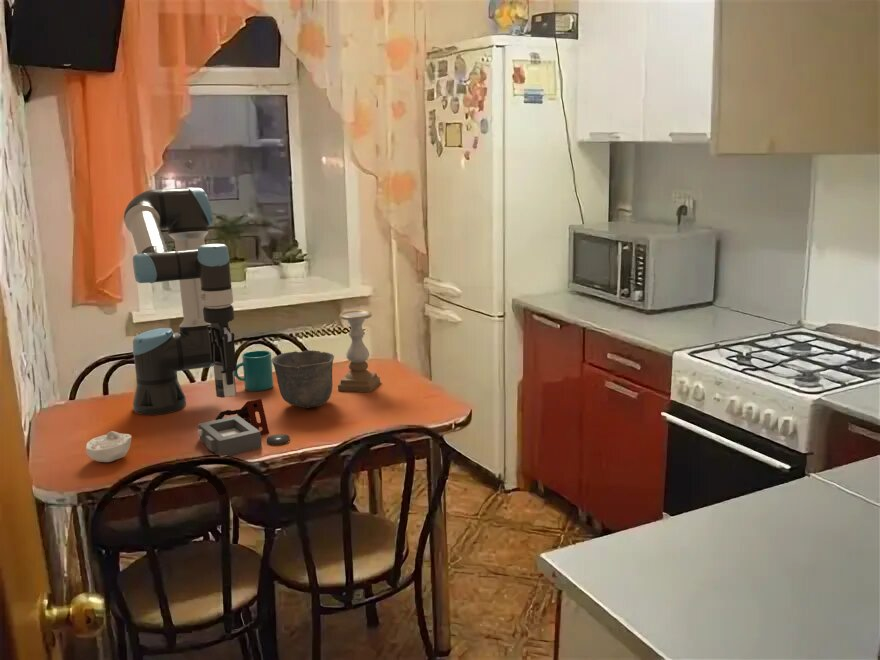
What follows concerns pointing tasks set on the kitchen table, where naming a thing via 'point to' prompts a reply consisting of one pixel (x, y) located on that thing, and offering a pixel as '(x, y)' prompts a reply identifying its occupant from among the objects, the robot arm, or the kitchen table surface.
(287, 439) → the lens cap
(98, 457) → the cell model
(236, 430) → the grey square tray
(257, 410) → the bracket
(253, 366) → the cup
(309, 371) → the bowl
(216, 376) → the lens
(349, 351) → the candle holder
